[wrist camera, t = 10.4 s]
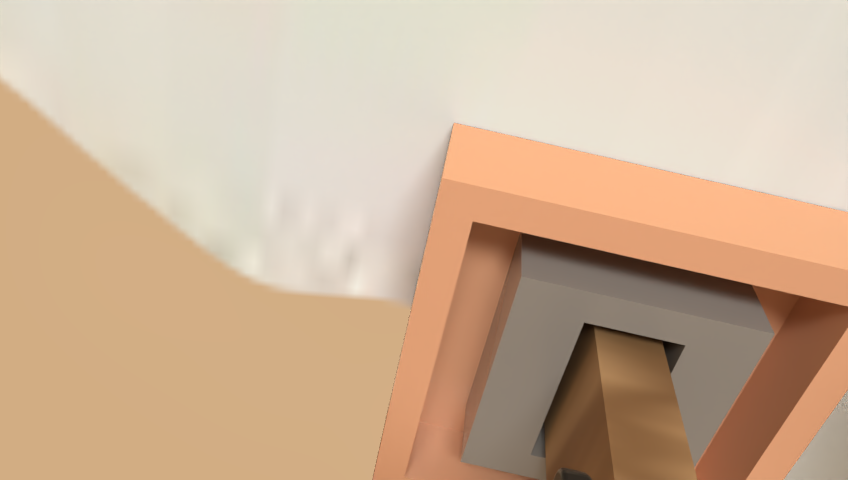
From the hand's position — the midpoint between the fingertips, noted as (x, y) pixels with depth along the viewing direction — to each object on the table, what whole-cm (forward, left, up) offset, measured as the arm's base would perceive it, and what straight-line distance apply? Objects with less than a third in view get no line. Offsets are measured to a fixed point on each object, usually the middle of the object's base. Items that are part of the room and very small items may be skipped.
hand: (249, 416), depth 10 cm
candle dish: (-8, +6, -12) cm, 16 cm away
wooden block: (-8, +6, -11) cm, 15 cm away
